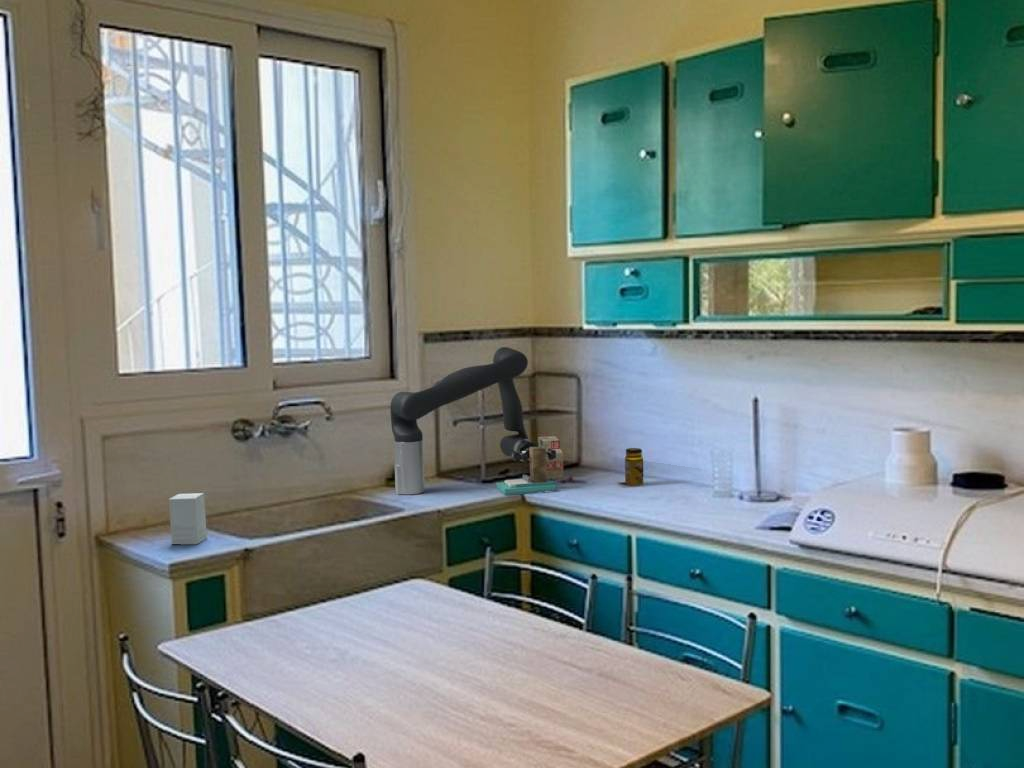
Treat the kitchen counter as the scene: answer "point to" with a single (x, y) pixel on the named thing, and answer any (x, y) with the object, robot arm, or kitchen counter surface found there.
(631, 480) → the condiment
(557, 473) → the white printed carton
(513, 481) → the sliding lid
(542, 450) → the walnut post
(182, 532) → the supplement box
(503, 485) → the puzzle board
